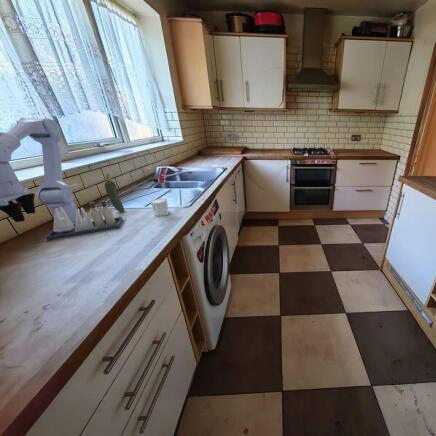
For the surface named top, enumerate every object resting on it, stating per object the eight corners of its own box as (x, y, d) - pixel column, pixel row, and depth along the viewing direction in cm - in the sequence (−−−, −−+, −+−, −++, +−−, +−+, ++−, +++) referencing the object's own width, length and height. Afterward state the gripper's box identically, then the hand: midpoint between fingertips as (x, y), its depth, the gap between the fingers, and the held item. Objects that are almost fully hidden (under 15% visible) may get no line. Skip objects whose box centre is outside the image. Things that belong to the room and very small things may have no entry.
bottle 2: (108, 224, 99) (98, 200, 94) (117, 223, 101) (108, 199, 96) (106, 227, 97) (96, 202, 92) (115, 226, 98) (106, 201, 93)
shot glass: (165, 217, 107) (161, 203, 104) (151, 217, 107) (147, 203, 104) (172, 211, 113) (169, 198, 110) (159, 211, 114) (155, 198, 111)
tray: (57, 231, 95) (55, 227, 94) (123, 220, 104) (121, 216, 103) (47, 241, 88) (45, 237, 87) (119, 229, 97) (118, 225, 96)
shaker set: (55, 235, 91) (41, 210, 86) (61, 231, 94) (48, 206, 89) (90, 231, 94) (80, 206, 89) (95, 226, 97) (85, 203, 93)
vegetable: (119, 214, 110) (104, 174, 101) (112, 214, 111) (96, 173, 102) (127, 211, 114) (113, 171, 105) (120, 210, 114) (106, 171, 106)
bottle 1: (97, 226, 98) (87, 201, 93) (106, 224, 99) (97, 200, 94) (95, 229, 95) (85, 204, 90) (105, 227, 97) (95, 203, 92)
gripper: (9, 185, 73) (30, 223, 79) (32, 174, 85) (49, 208, 91) (-22, 188, 70) (2, 227, 76) (6, 177, 82) (25, 211, 88)
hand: (26, 217), depth 83 cm, fingers open, 7 cm apart
